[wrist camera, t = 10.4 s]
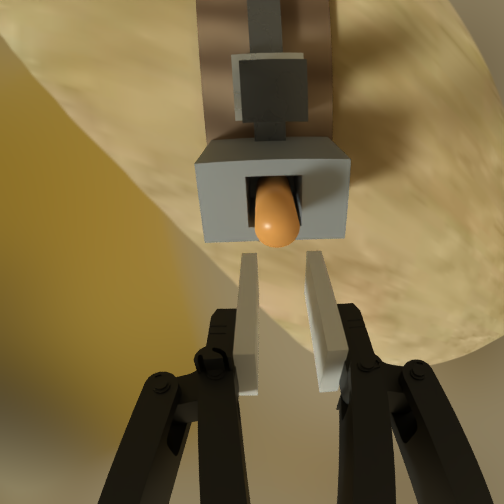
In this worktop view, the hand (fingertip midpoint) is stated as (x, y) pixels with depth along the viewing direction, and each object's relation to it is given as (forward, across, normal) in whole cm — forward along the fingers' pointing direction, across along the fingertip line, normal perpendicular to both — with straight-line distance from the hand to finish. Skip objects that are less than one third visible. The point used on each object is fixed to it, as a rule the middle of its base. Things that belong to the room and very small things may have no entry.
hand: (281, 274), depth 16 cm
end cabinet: (+19, 0, 0) cm, 19 cm away
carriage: (+19, 0, +9) cm, 21 cm away
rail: (+19, 0, +14) cm, 23 cm away
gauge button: (+13, 0, 0) cm, 13 cm away
